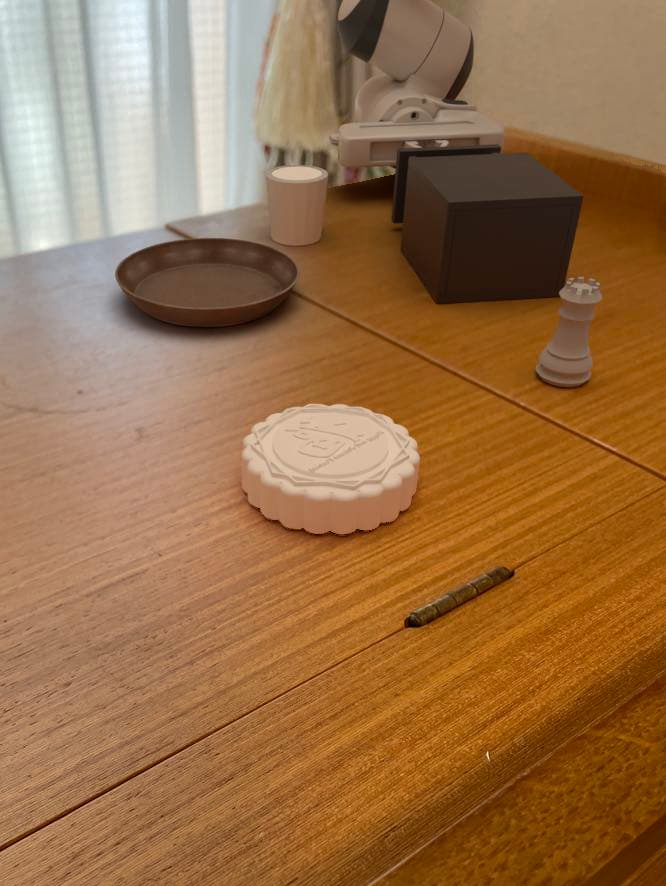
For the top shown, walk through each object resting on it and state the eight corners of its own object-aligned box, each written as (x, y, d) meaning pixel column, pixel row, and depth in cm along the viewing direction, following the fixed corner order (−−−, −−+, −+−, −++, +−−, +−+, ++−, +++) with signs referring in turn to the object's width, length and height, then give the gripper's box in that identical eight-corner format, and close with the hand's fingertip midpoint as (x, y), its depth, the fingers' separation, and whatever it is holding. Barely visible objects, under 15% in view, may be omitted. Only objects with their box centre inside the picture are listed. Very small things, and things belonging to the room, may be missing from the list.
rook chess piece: (589, 392, 70) (613, 297, 65) (531, 384, 71) (551, 290, 66) (591, 368, 73) (614, 275, 68) (536, 360, 74) (555, 269, 69)
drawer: (382, 208, 104) (388, 138, 99) (475, 203, 105) (485, 134, 100) (421, 263, 90) (430, 185, 85) (528, 257, 91) (542, 179, 86)
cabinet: (400, 250, 95) (408, 157, 89) (511, 244, 96) (527, 152, 90) (436, 304, 84) (448, 202, 78) (562, 296, 85) (584, 195, 79)
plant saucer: (322, 277, 89) (323, 248, 87) (260, 350, 76) (259, 318, 74) (167, 256, 94) (165, 228, 92) (84, 321, 82) (80, 290, 80)
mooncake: (326, 421, 67) (328, 379, 65) (451, 486, 60) (458, 442, 58) (206, 482, 61) (203, 438, 58) (330, 563, 54) (332, 516, 51)
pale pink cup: (293, 252, 95) (293, 186, 91) (253, 235, 99) (252, 171, 95) (338, 237, 98) (341, 173, 94) (298, 222, 103) (299, 160, 98)
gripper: (327, 107, 109) (348, 135, 98) (485, 101, 111) (523, 127, 100) (325, 160, 113) (345, 192, 102) (478, 153, 114) (514, 184, 104)
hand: (435, 160), depth 101 cm, fingers closed
